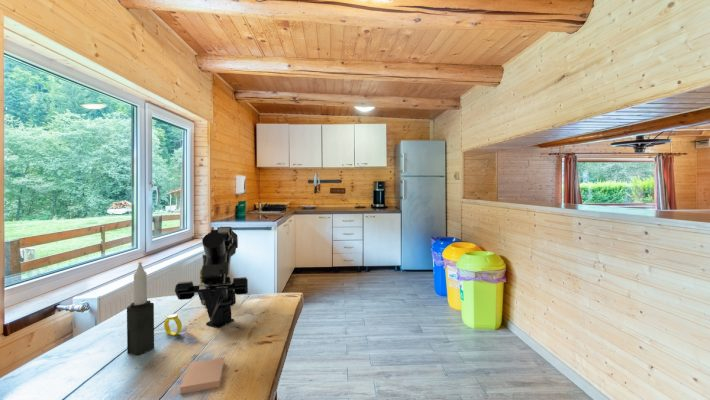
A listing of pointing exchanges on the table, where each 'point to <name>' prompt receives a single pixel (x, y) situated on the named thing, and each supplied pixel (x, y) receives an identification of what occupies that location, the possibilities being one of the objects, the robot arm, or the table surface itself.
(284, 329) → the table surface
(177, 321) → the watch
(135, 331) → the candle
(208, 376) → the tile
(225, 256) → the robot arm
